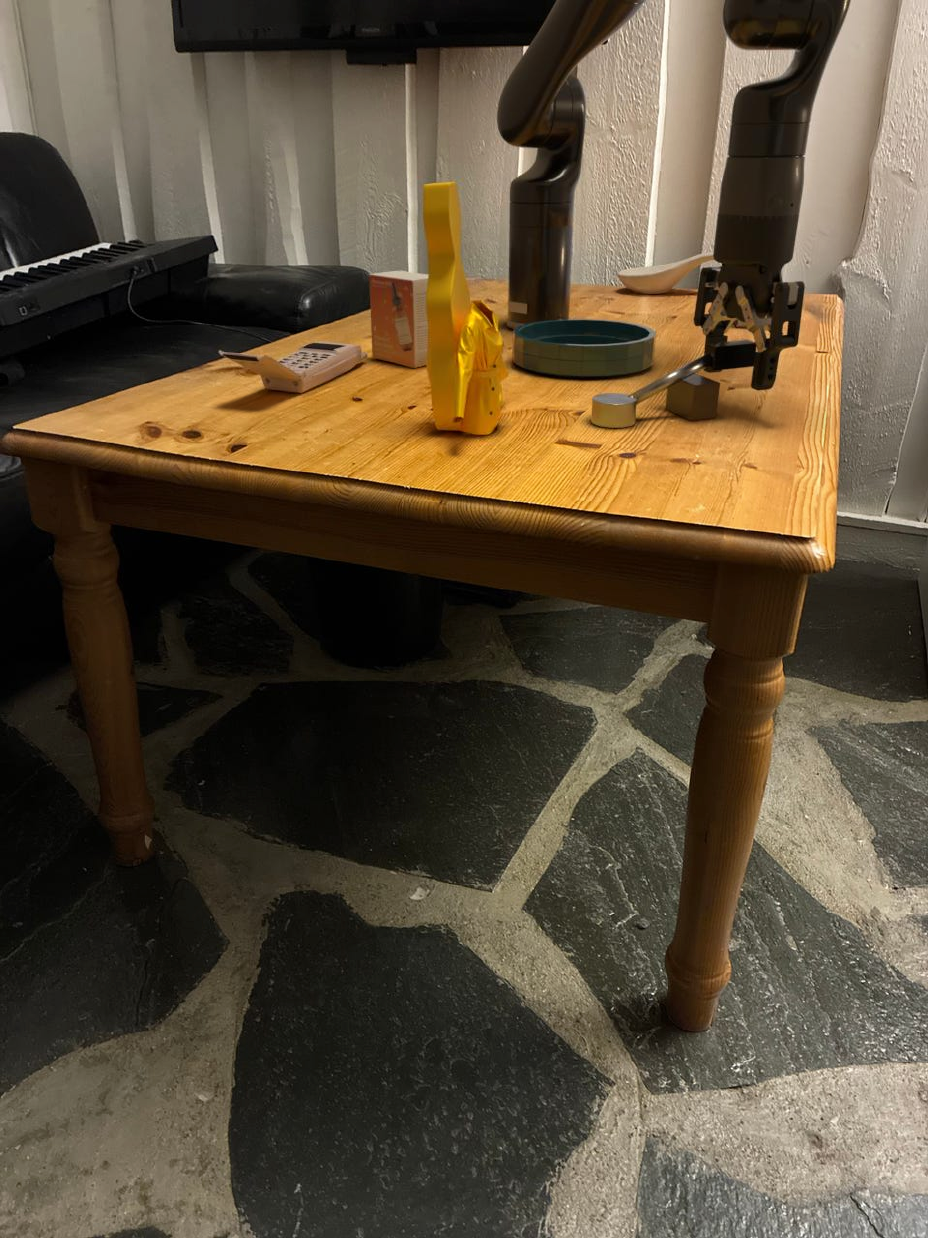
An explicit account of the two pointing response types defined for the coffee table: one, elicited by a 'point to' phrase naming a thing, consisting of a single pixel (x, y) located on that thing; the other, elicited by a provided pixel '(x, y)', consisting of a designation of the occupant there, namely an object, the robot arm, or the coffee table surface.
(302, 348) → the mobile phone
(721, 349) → the ladle
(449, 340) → the figure statuette
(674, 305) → the coffee table surface
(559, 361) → the bowl
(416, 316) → the small box
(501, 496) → the coffee table surface
